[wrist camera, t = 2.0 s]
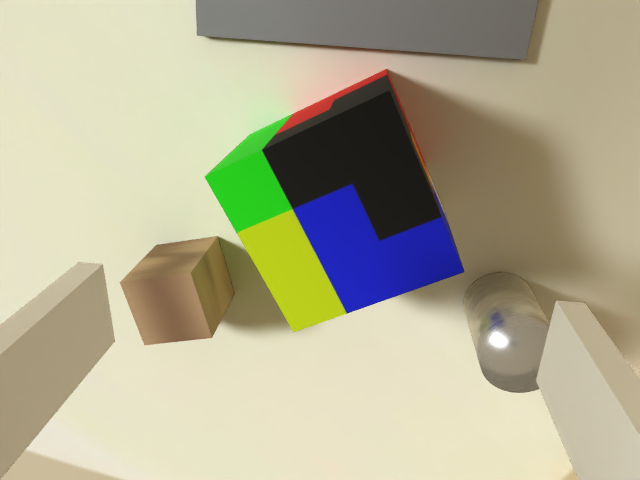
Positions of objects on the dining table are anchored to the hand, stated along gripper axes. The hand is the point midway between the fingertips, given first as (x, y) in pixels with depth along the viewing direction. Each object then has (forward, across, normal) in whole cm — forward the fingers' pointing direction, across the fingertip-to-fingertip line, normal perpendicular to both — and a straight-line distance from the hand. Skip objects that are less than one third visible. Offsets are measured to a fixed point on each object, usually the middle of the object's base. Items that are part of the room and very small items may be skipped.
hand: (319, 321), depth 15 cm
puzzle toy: (+22, 0, -2) cm, 22 cm away
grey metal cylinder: (+21, +11, -11) cm, 27 cm away
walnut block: (+21, -12, -10) cm, 26 cm away
